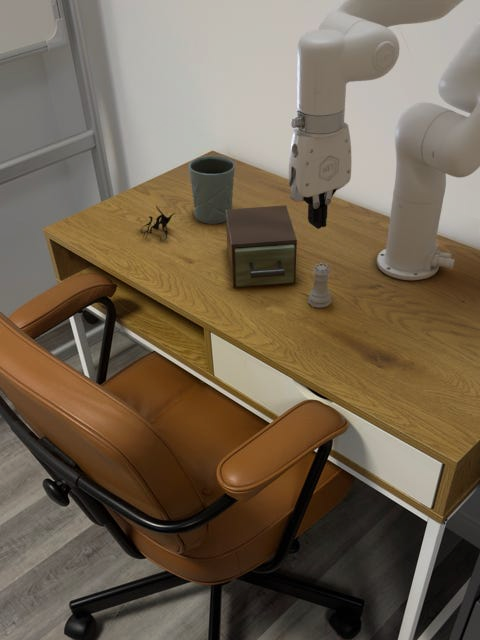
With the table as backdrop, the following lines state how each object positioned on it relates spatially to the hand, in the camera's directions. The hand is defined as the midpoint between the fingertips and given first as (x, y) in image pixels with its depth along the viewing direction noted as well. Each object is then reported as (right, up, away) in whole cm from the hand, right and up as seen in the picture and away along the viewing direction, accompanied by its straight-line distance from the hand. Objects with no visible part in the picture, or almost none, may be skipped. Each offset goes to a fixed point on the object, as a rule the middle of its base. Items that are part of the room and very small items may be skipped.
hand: (317, 224), depth 124 cm
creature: (-32, +7, +33) cm, 47 cm away
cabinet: (-9, -2, +22) cm, 24 cm away
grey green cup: (-20, +13, +39) cm, 46 cm away
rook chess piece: (+2, -12, +12) cm, 17 cm away
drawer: (-9, -5, +19) cm, 21 cm away
